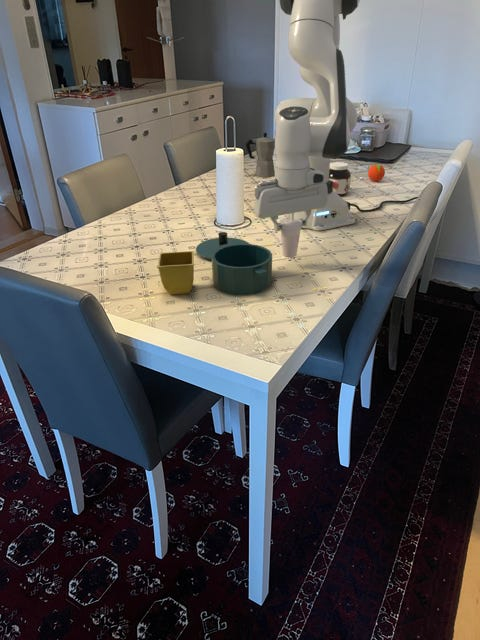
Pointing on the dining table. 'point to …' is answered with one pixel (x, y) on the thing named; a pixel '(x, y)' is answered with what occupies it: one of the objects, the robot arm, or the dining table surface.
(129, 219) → the dining table surface
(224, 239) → the lid
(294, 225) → the smoothie
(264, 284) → the pot
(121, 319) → the dining table surface
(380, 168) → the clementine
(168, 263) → the flower pot
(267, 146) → the coffeepot
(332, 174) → the spread jar
